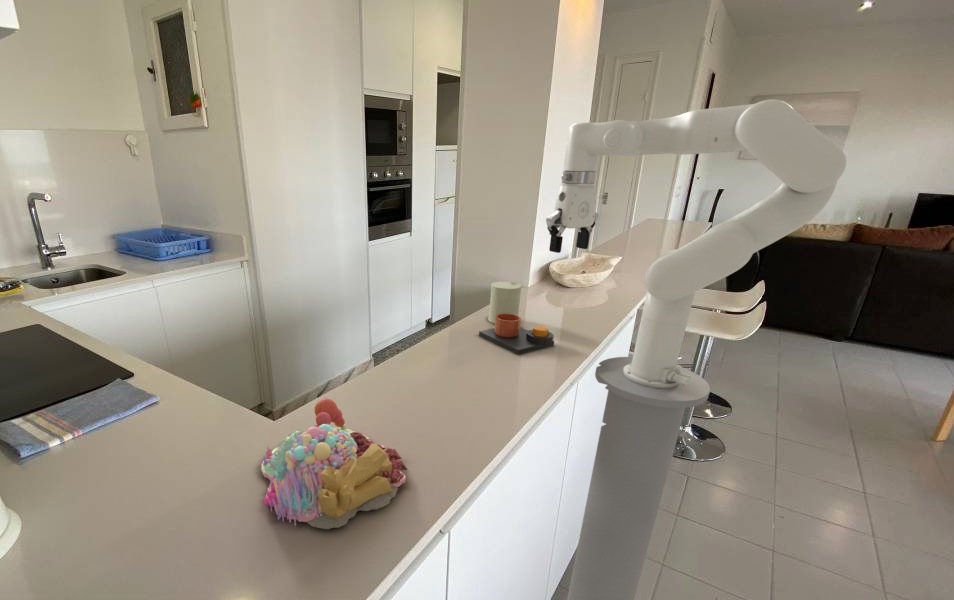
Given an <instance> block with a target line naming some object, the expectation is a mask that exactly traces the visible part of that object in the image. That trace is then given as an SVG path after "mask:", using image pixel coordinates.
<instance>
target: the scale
mask: <svg viewBox="0 0 954 600" xmlns="http://www.w3.org/2000/svg"><path fill="white" fill-rule="evenodd" d="M494 330H495V327H493V328H488V329H484V330H479V331H478V337H481V338H483V339H484V340H487V341H488V342H491V343H492V344H495V345H497V346H499V347H501V348H503V349H505V350H507V351H510V352H511V353H514V354H516V355H517V356H520V355H523V354H526V353H531V352H534V351H538V350H543V349H547V348H550V347H554V345H555V340H554V338H555V337H554V334H553V332H551V331H549V330H548V336H546V337H539V336H535V335H532V334H533V329H530V330H529V329H526V328H524V327H522V326H520V329H519V334H518V335H517V336H515V337H501V336H498V335H497V334H496V333H495V332H494Z"/></svg>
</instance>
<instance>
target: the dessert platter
mask: <svg viewBox="0 0 954 600" xmlns="http://www.w3.org/2000/svg"><path fill="white" fill-rule="evenodd" d="M314 414H315V416H316V417H315V423H316V424H315V425H314V426H311V427H309V428H307V430H306V431H305V430H303V429H300V428H299V429H296V430H295V431H293V432H292V433H289V434H287V435H286V436H285V437H284V438H283V439H282V442H280V444H279V445H278V446H277V447H275V448H273V449H272V450H271V448H269V447H268V446H266V447H267V448H266V449H267V450H266V452H265V454H266V457H265V456H263V460H262V462H261V467H260V470H261V474H262V476H263V477H264V478H265V479H268V480H269V482H270V483H269V486H268V488H267V490H266V491H267V493H266V494H265V497H264V498H263V500H262V502H263V505H265V506H269V507H270V512H273V509H274V512H275V515H277V520H280V519H282V522H283V523H284V522H285V518H286V520H287V521H289V523H292V520H293V522H294V523H293V524H294V526H295V527H296V526H297V521H298V522H299V523H302V522H303V523H307V524H308V525H309V526H310V527H313V528H317V529H324V530H330V529H332V528H337V529H339V528H341V527H343V526H345V525H347V523H348V521H349V519H352V518H354V517H355V516H356V514H357V512H359V511H362V512H369V511H371V510H379V509H381V508H384V507H385V506H387V505H389V504H390V502H391V499H393V498H395V497H396V496H397V492H398V491H399V488H398V487H401V485H403V484H405V483H406V482H407V480H406V474H405V473H403V471H408V468H407V466H406V464H404V462H403V461H402V459H403V458H402V456H401V455H400V454H399V453H398V452H397V450H396V449H395V448H390V447H386V446H384V445H383V444H378V443H374V441H372V440H371V439H370V437H369V436H367V435H365V434H363V433H362V432H358V431H355V430H353V429H351V428H346V425H345V423H346V422H345V418H344V417H343V413H342V410H341V409H340V408H338V406H337V403H336V402H335V401H334V400H333V399H331V398H327V397H325V398H321V399H319V400H318V401H317V402H316V404H315V406H314ZM332 423H334V425H335V427H333V426H332V425H331V424H332Z"/></svg>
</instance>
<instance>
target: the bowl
mask: <svg viewBox="0 0 954 600" xmlns="http://www.w3.org/2000/svg"><path fill="white" fill-rule="evenodd" d="M521 318H522V317H521V316H520V315H519V314H518V315H515V314H508V313H502V314H498V315H496V319H495V324H494V328H495V330H494V332H495V333H496V334H497V335H498V336H501V337H515V336H517V335H518V334H519V329H520V327H521V320H522V319H521Z"/></svg>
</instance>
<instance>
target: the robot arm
mask: <svg viewBox="0 0 954 600" xmlns="http://www.w3.org/2000/svg"><path fill="white" fill-rule="evenodd" d="M731 152H749V154H751V155H752V156H753V157H754V158H755V159H756V160H757V161H759V162H760V163H761V164H762V165H763V166H764V167H765V168H766V169H767V170H769V171H770V172H771V173H773V174H774V175H775V176H776V177H777V178H778V179H779V180H781V181H782V182H781V184H780V185H779V186H778V188H777V189H775V191H773V193H771V194H770V195H768V196H766V197H765V198H764V199H761V200H760V201H758V202H756V203H755V204H753V205H752V206H750V207H748V208H747V209H745V210H743V211H741V212H740V213H738V214H735V215H734V216H732V217H730V218H728V219H726V220H724V221H722V222H719V223H718V224H716V225H714V226H711V227H710V228H709V229H708V230H706V231H705V232H704V233H703V234H701V235H700V236H699V237H697V238H695V239H693V240H692V241H690V242H688V243H686V244H685V245H682V246H681V247H679V248H677V249H671V250H667V251H665V252H663V253H662V254H660V255H659V256H658V257H657V258H656V259H655V260H654V261H653V262H652V263H651V264H650V265H649V267H648V268H647V269H646V272H645V275H644V282H643V283H644V287H645V290H646V295H645V300H644V304H643V308H642V313H641V316H640V317H641V318H640V322H639V327H638V331H637V336H636V340H635V346H634V350H633V355H632V357H633V359H632V364H628V365H626V366H625V367H624V368H623V374H624V375H625V376H626V377H627V378H628V379H630V380H631V381H633V382H636V383H638V384H641V385H644V386H649V387H655V388H672V387H675V386H678V385H679V384H681V385H683V386H688V384H689V382H690V376H689V375H687V374H683V373H681V371H680V368H681V367H682V365H681V364H678V361H679V357H680V354H681V353H680V352H681V349H682V345H683V342H684V341H683V340H684V337H685V334H686V328H687V326H688V322H689V318H690V314H691V311H692V306H693V303H694V299H695V295H696V292H698V291H700V290H702V289H704V288H706V287H708V286H710V285H712V284H714V283H716V282H718V281H721V280H722V279H724V278H726V277H729V276H730V275H732V274H734V273H735V272H737V271H739V270H741V269H742V268H743V267H744V266H746V264H747V263H748V262H749V261H750V260H751V258H752V257H753V254H755V253H757V252H759V251H760V250H762V249H765V248H766V247H768V246H770V245H772V244H774V243H775V242H777V241H779V240H781V239H783V238H784V237H786V236H789V235H790V234H792V233H794V232H796V231H797V230H799V229H801V228H803V227H804V226H805V225H807V224H808V223H810V222H811V221H812V220H813V219H815V217H817V216H818V215H819V214H820V213H821V212H822V211H823V209H824V208H825V207H826V206H827V204H828V203H829V201H830V199H831V197H832V196H833V194H834V192H835V189H836V187H837V185H838V181H839V179H840V178H841V177H842V176H843V174H844V172H845V170H846V167H847V157H846V154H845V152H844V150H843V149H842V148H841V147H840V146H839V145H838V144H836V143H835V142H834V141H833V140H832V139H830V138H829V137H828V136H826V135H825V134H824V133H823V132H822V131H820V130H819V129H818V128H817V127H815V125H813V124H812V123H810V122H809V121H808V120H807V119H805V117H803V116H802V115H801V114H800V113H799V112H798V111H797V110H795V109H794V108H793V107H792V106H791V105H790V104H788V103H787V102H785V101H783V100H781V99H775V98H771V99H765V100H761V101H759V102H756V103H749V104H740V105H733V106H732V105H731V106H724V107H722V106H721V107H713V108H712V107H711V108H701V109H696V110H689V111H687V112H684V113H682V114H679V115H674V116H670V117H663V118H657V119H655V118H654V119H648V120H647V119H645V120H635V121H630V120H624V119H616V120H610V121H603V122H592V121H591V122H575V123H573V124H571V125H570V126H569V128H568V130H567V136H566V145H565V154H564V161H563V169H562V175H561V184H560V186H559V188H558V191H557V196H556V201H555V204H554V211H553V213H551V214H550V215H549V216H547V217H546V219H545V222H546V226H547V227H546V228H547V230H548V232H549V236H550V241H549V247H548V248H549V249H548V250H549V252H551V253H552V252H553V253H557V254H560V253H561V252H562V245H563V238H564V236H562V235H563V233H564V231H565V230H566V229H579V231H578V232H577V237H576V244H575V247H576V248H577V249H582V250H587V249H588V248H589V242H590V236H591V233H592V232H593V228H594V227H595V226H596V223H597V220H598V218H599V213H597V212H596V211H597V185H596V177H597V170H598V164H599V157H600V156H605V157H613V158H615V157H617V158H618V157H633V156H647V155H665V154H666V155H668V154H672V155H684V156H685V155H700V154H716V153H731Z"/></svg>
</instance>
